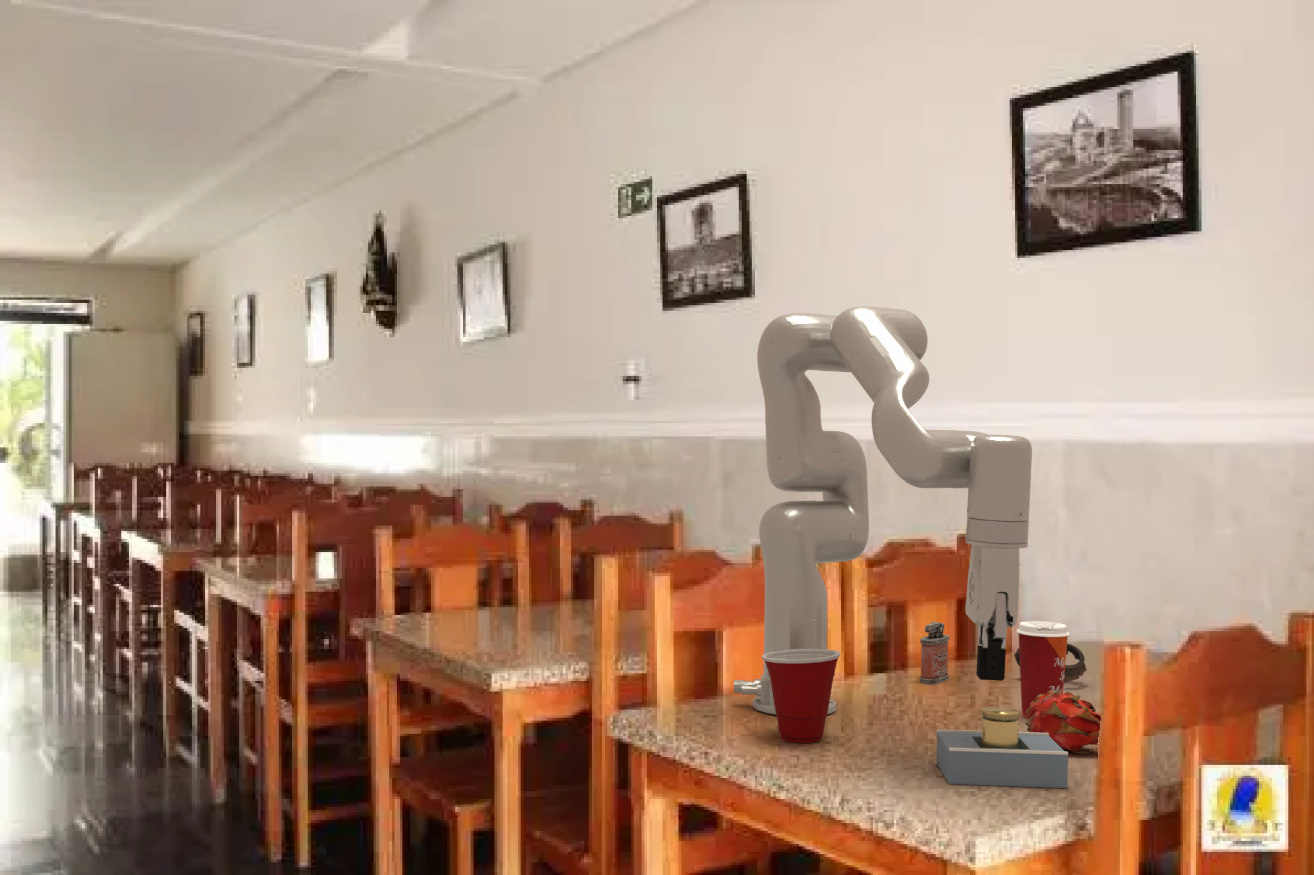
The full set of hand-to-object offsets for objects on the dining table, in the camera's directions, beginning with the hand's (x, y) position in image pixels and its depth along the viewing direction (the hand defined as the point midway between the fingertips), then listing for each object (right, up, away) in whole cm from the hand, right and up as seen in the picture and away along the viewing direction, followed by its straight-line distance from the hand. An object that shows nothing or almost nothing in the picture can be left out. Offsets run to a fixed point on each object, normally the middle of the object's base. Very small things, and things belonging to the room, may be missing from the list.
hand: (990, 678), depth 161 cm
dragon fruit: (+14, -12, +12) cm, 22 cm away
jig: (+1, -12, -2) cm, 12 cm away
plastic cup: (-22, -11, +15) cm, 29 cm away
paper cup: (+16, -12, +32) cm, 37 cm away
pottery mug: (+26, -12, +59) cm, 66 cm away
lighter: (+6, -12, +60) cm, 61 cm away
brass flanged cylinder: (+1, -12, -2) cm, 12 cm away
